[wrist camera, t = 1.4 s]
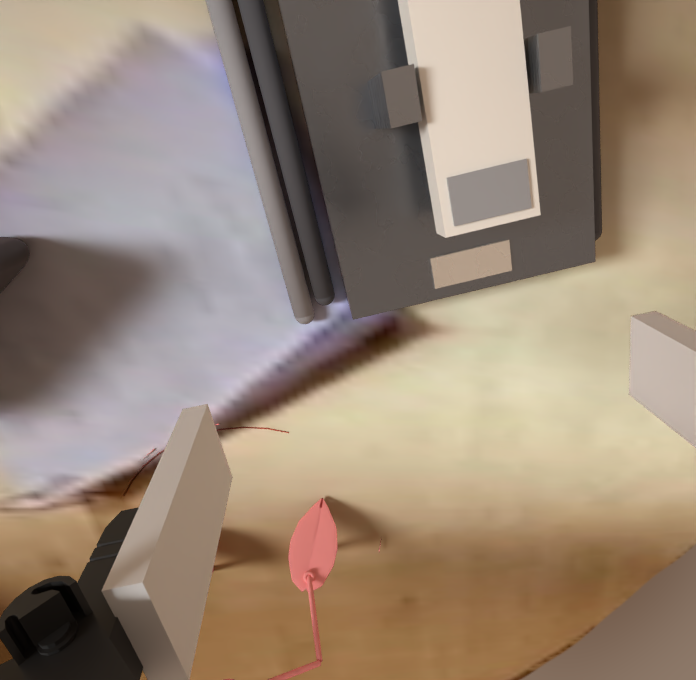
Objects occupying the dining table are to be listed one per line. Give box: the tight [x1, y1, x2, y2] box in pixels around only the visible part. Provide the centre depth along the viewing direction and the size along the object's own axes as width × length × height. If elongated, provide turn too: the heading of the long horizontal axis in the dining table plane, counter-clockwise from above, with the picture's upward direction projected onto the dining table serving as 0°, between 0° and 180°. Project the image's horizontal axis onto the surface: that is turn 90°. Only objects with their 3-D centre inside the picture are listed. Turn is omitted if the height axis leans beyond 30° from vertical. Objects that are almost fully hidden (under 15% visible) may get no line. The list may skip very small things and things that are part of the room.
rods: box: [206, 0, 602, 324], centre depth 31 cm, size 24×22×1 cm
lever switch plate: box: [278, 0, 595, 320], centre depth 27 cm, size 24×16×9 cm, turn 13°
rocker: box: [398, 0, 541, 238], centre depth 25 cm, size 14×5×2 cm, turn 13°
